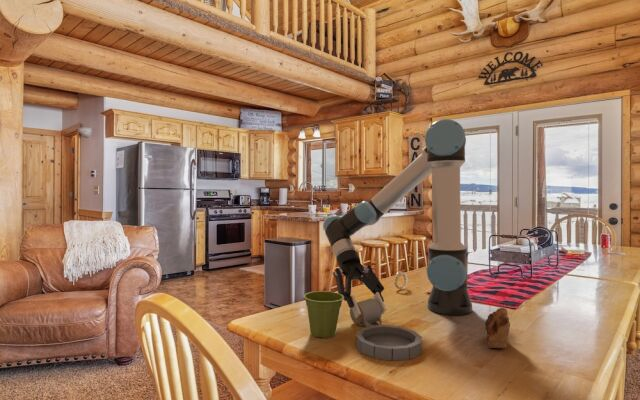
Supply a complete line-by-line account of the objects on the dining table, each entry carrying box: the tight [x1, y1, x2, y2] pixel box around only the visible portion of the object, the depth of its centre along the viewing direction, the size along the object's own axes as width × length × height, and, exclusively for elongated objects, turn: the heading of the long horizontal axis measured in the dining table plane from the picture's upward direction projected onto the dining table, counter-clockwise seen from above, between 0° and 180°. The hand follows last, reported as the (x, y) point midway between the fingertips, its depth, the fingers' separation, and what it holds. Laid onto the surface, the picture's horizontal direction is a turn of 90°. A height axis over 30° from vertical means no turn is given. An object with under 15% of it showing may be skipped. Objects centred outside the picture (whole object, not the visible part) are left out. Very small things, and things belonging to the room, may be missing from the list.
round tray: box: [355, 324, 423, 362], centre depth 108 cm, size 17×17×3 cm
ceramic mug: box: [349, 297, 383, 327], centre depth 126 cm, size 10×8×7 cm
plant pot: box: [303, 290, 344, 339], centre depth 117 cm, size 12×12×11 cm
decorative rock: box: [484, 307, 511, 349], centre depth 110 cm, size 12×6×11 cm, turn 159°
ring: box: [393, 270, 408, 291], centre depth 170 cm, size 7×3×8 cm, turn 120°
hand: (371, 314), depth 125 cm, fingers open, 9 cm apart
